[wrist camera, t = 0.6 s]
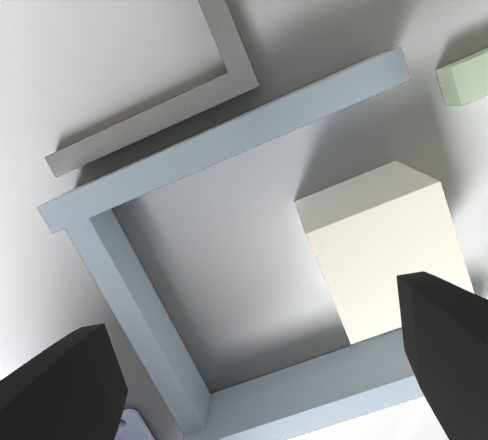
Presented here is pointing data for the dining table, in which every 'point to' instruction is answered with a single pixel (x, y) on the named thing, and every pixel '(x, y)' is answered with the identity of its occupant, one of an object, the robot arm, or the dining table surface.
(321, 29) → the dining table surface
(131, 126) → the crook tool
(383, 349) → the pale blue square frame
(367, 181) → the cube
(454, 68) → the pale green flat block
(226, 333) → the dining table surface
